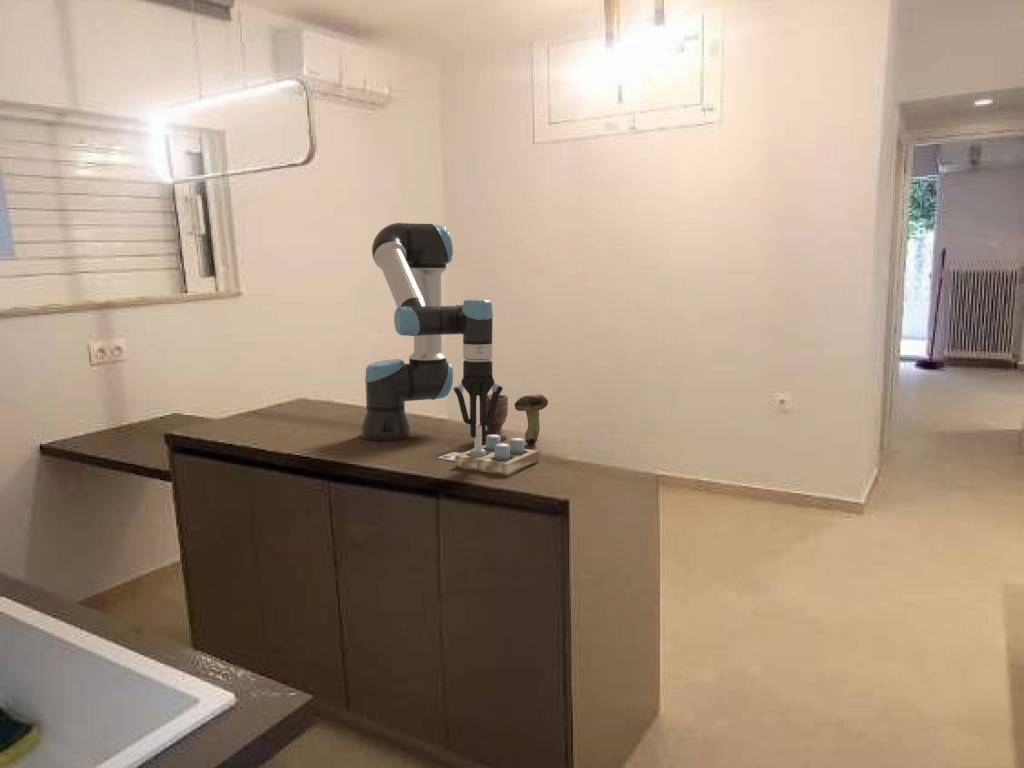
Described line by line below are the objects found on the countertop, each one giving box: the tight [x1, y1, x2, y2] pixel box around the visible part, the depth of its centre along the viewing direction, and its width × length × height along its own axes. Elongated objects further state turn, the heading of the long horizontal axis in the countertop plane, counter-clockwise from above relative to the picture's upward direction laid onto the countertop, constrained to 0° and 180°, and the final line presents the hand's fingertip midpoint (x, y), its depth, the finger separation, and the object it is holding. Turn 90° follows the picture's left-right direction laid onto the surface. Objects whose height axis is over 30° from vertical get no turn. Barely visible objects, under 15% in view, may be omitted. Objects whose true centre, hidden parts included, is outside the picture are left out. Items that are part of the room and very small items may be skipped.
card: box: [437, 451, 463, 462], centre depth 196 cm, size 7×7×1 cm
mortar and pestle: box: [482, 392, 509, 441], centre depth 216 cm, size 12×9×20 cm
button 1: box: [469, 448, 486, 458], centre depth 188 cm, size 4×4×4 cm
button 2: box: [485, 435, 502, 451], centre depth 194 cm, size 4×4×4 cm
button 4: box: [509, 437, 526, 455], centre depth 190 cm, size 4×4×4 cm
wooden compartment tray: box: [454, 444, 540, 477], centre depth 189 cm, size 16×16×3 cm
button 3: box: [494, 443, 510, 461], centre depth 184 cm, size 4×4×4 cm
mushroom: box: [514, 393, 549, 446], centre depth 210 cm, size 9×9×15 cm
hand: (478, 449), depth 188 cm, fingers closed
